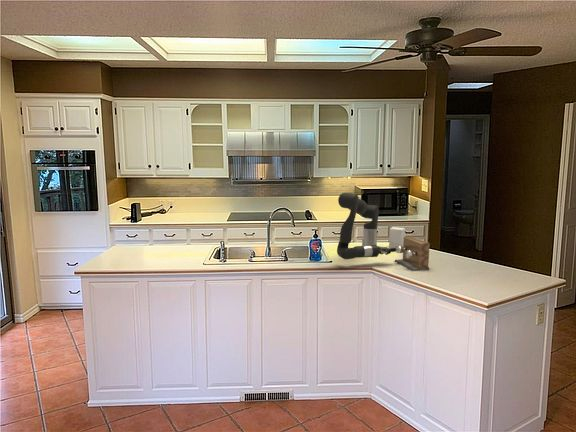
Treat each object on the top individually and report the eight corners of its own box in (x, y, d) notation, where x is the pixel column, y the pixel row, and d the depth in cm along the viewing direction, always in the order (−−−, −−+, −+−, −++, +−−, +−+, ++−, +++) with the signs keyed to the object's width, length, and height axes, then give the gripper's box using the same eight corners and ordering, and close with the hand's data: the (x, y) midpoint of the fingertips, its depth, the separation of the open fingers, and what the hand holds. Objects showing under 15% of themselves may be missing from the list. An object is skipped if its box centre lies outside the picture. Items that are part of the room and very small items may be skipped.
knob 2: (408, 258, 257) (408, 251, 256) (404, 256, 261) (405, 249, 261) (420, 257, 259) (421, 250, 258) (416, 256, 263) (417, 249, 263)
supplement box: (404, 248, 315) (405, 227, 312) (401, 250, 307) (401, 229, 305) (392, 246, 319) (393, 226, 317) (388, 248, 312) (389, 228, 310)
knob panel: (412, 270, 256) (413, 244, 253) (394, 261, 277) (395, 237, 274) (429, 269, 258) (430, 243, 256) (410, 260, 279) (411, 236, 277)
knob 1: (398, 253, 269) (399, 247, 268) (395, 252, 273) (395, 245, 272) (410, 253, 271) (410, 246, 270) (406, 251, 275) (407, 244, 274)
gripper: (374, 247, 259) (400, 246, 263) (365, 242, 272) (390, 241, 276) (373, 259, 260) (400, 258, 264) (364, 254, 273) (390, 253, 277)
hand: (395, 249), depth 270 cm, fingers closed
